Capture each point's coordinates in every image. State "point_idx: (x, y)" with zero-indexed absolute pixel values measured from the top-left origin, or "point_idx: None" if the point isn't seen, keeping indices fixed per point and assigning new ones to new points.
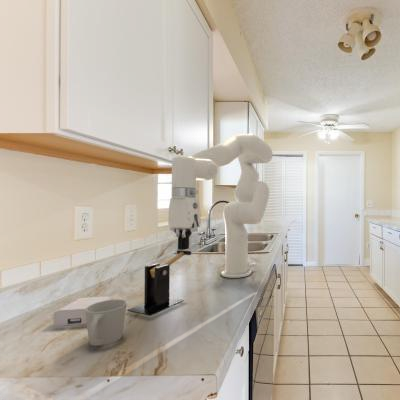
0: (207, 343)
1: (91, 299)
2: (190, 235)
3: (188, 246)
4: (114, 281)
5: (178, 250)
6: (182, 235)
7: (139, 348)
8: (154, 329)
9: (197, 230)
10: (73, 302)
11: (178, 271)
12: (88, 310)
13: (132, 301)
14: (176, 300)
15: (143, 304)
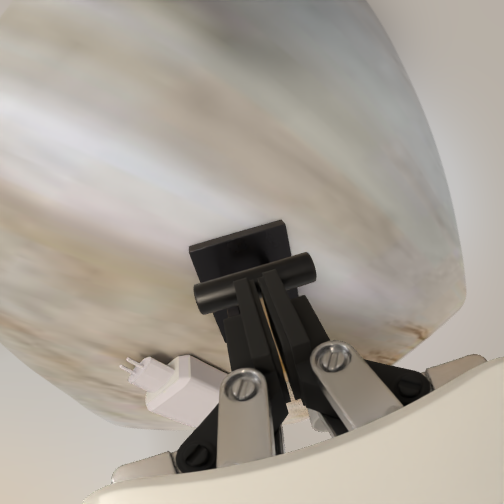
0: (442, 279)
1: (181, 404)
2: (352, 351)
3: (280, 281)
4: None
5: (208, 310)
6: (323, 413)
7: (373, 344)
8: (345, 319)
9: (483, 360)
10: (176, 418)
11: None
12: (322, 426)
13: (136, 304)
14: (268, 241)
15: (219, 311)
